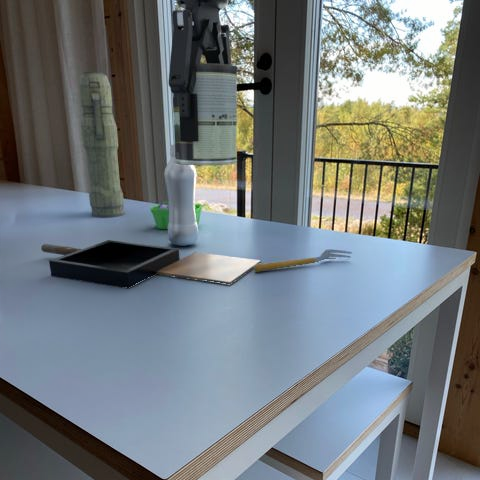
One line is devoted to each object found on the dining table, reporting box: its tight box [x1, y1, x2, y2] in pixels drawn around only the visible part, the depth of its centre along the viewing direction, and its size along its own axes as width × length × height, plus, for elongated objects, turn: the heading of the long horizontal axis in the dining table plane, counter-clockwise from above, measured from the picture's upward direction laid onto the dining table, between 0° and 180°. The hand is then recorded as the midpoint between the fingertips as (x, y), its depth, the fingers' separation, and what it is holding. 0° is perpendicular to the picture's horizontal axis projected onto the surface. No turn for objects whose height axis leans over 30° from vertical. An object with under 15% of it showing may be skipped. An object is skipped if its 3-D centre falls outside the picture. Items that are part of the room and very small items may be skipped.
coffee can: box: [171, 62, 239, 166], centre depth 75 cm, size 10×10×14 cm
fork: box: [253, 248, 353, 273], centre depth 87 cm, size 2×2×20 cm
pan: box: [40, 239, 180, 289], centre depth 86 cm, size 25×16×3 cm, turn 67°
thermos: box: [78, 71, 125, 218], centre depth 125 cm, size 9×12×35 cm
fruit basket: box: [149, 192, 204, 230], centre depth 115 cm, size 11×9×11 cm
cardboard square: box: [156, 251, 262, 284], centre depth 85 cm, size 14×14×1 cm
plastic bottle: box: [163, 144, 200, 247], centre depth 97 cm, size 6×7×20 cm
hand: (205, 139), depth 77 cm, fingers closed on coffee can, 10 cm apart
